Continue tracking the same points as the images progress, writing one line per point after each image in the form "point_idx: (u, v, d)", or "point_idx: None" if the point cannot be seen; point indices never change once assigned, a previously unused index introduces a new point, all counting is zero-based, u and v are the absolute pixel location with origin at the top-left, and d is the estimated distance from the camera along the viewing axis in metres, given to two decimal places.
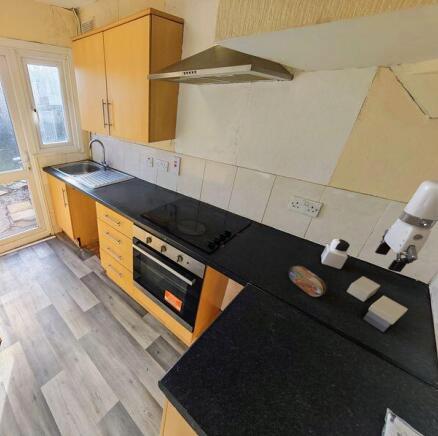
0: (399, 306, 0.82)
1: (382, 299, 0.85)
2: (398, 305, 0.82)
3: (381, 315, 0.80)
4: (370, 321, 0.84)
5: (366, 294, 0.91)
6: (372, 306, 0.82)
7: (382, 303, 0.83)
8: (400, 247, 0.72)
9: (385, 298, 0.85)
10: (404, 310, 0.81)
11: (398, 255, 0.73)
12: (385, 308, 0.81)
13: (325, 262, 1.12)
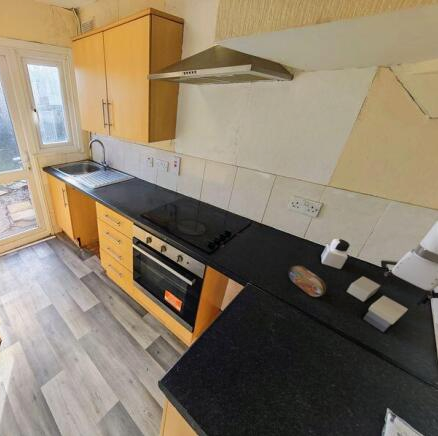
0: (399, 306, 0.82)
1: (382, 299, 0.85)
2: (398, 305, 0.82)
3: (381, 315, 0.80)
4: (370, 321, 0.84)
5: (366, 294, 0.91)
6: (372, 306, 0.82)
7: (382, 303, 0.83)
8: (433, 285, 0.70)
9: (385, 298, 0.85)
10: (404, 310, 0.81)
11: (429, 292, 0.71)
12: (385, 308, 0.81)
13: (325, 262, 1.12)
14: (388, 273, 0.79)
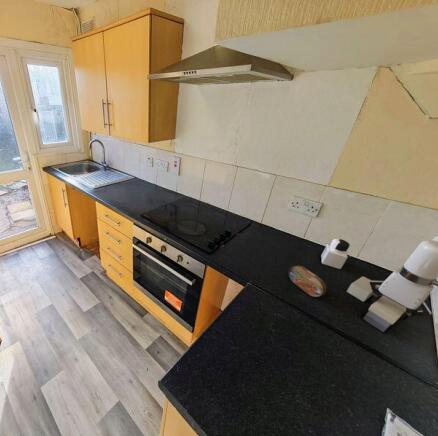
0: (399, 306, 0.82)
1: (382, 299, 0.85)
2: (398, 305, 0.82)
3: (381, 315, 0.80)
4: (370, 321, 0.84)
5: (366, 294, 0.91)
6: (372, 306, 0.82)
7: (382, 303, 0.83)
8: (416, 305, 0.74)
9: (385, 298, 0.85)
10: (404, 310, 0.81)
11: (409, 310, 0.76)
12: (385, 308, 0.81)
13: (325, 262, 1.12)
14: (377, 294, 0.83)
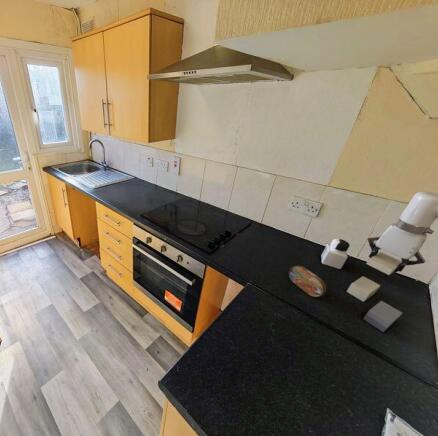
0: (395, 260, 0.87)
1: (379, 254, 0.90)
2: (394, 259, 0.87)
3: (378, 267, 0.85)
4: (370, 321, 0.84)
5: (366, 294, 0.91)
6: (370, 260, 0.87)
7: (379, 258, 0.88)
8: (411, 254, 0.79)
9: (382, 253, 0.90)
10: None
11: (404, 260, 0.81)
12: (382, 261, 0.86)
13: (325, 262, 1.12)
14: (375, 249, 0.88)
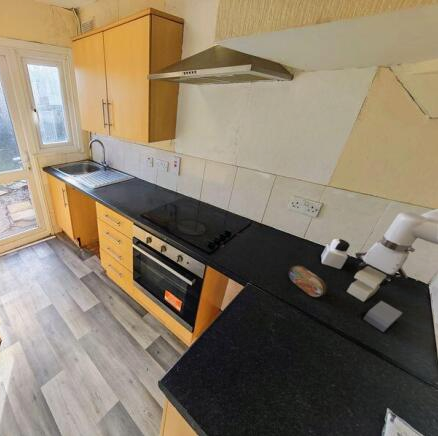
0: (381, 274, 0.93)
1: (366, 268, 0.95)
2: (380, 273, 0.93)
3: (365, 281, 0.91)
4: (370, 321, 0.84)
5: (366, 294, 0.91)
6: (357, 274, 0.93)
7: (366, 272, 0.93)
8: (394, 270, 0.84)
9: (369, 267, 0.96)
10: (385, 277, 0.91)
11: (388, 275, 0.87)
12: (368, 275, 0.92)
13: (325, 262, 1.12)
14: (362, 263, 0.93)
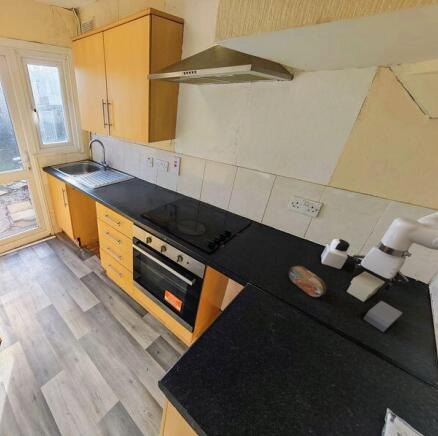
0: (377, 279, 0.94)
1: (363, 274, 0.97)
2: (376, 278, 0.94)
3: (361, 287, 0.92)
4: (370, 321, 0.84)
5: (366, 294, 0.91)
6: (354, 279, 0.94)
7: (362, 277, 0.95)
8: (392, 274, 0.85)
9: (366, 273, 0.97)
10: (381, 282, 0.92)
11: (389, 280, 0.87)
12: (365, 281, 0.93)
13: (325, 262, 1.12)
14: (358, 265, 0.95)
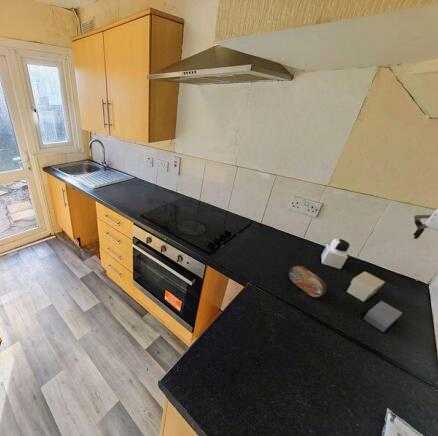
0: (377, 279, 0.94)
1: (363, 274, 0.97)
2: (376, 278, 0.94)
3: (361, 287, 0.92)
4: (370, 321, 0.84)
5: (366, 294, 0.91)
6: (354, 279, 0.94)
7: (362, 277, 0.95)
8: None
9: (366, 273, 0.97)
10: (381, 282, 0.92)
11: None
12: (365, 281, 0.93)
13: (325, 262, 1.12)
14: (422, 226, 0.85)
